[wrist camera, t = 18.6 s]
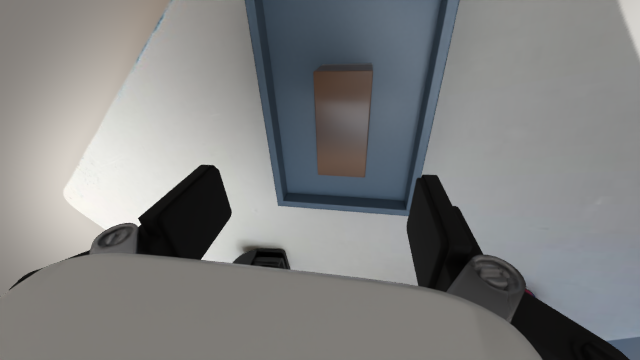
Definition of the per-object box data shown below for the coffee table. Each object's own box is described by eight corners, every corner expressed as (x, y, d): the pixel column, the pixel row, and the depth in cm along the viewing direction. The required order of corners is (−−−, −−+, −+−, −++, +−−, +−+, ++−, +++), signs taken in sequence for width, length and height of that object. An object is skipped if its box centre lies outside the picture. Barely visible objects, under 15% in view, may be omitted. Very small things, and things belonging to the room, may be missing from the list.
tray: (253, -21, 20) (240, -27, 18) (458, -38, 17) (470, -47, 15) (283, 194, 31) (277, 205, 29) (409, 203, 28) (412, 216, 26)
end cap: (241, 245, 38) (219, 283, 32) (283, 247, 36) (268, 286, 31) (258, 284, 43) (241, 323, 37) (295, 287, 41) (284, 328, 36)
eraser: (322, 64, 21) (312, 71, 18) (372, 63, 21) (373, 70, 17) (324, 154, 26) (317, 175, 22) (365, 156, 25) (365, 178, 22)
